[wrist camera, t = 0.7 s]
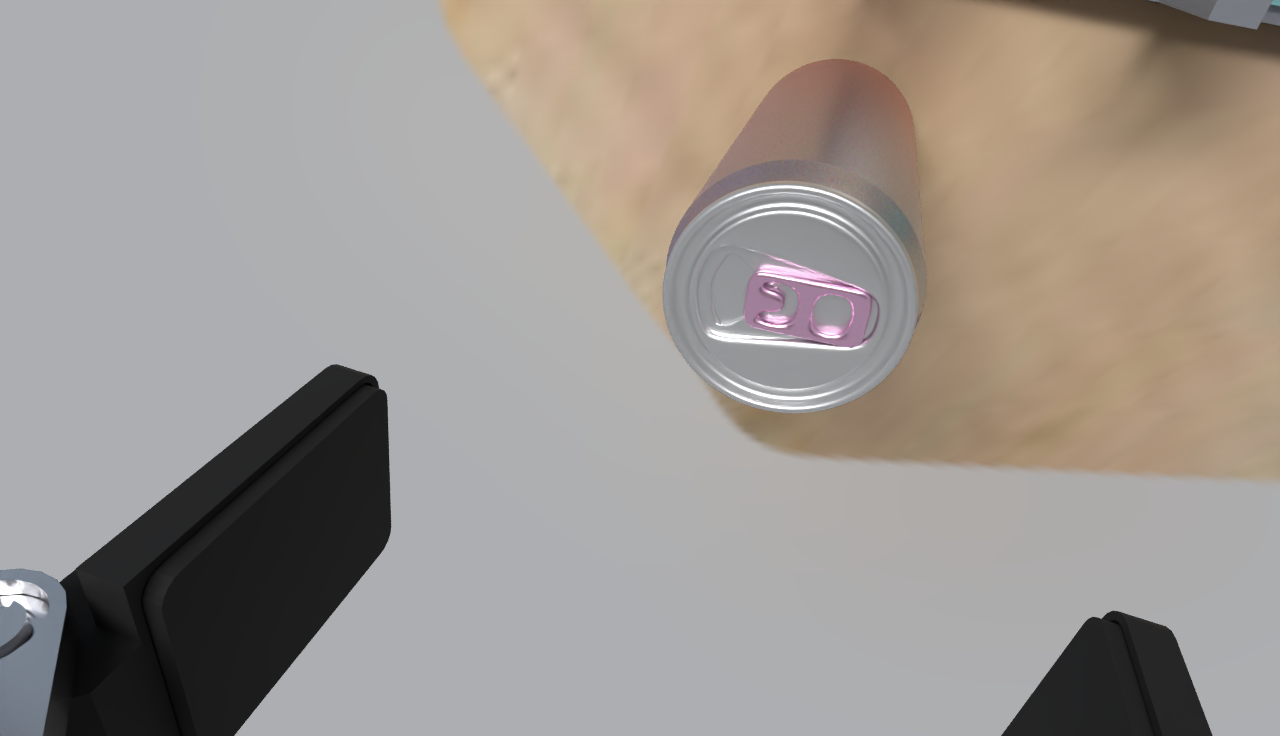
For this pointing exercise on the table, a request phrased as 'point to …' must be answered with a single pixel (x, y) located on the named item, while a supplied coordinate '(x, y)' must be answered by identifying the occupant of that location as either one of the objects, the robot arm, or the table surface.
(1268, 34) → the table surface
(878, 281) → the beverage can
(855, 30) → the table surface
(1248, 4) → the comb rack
